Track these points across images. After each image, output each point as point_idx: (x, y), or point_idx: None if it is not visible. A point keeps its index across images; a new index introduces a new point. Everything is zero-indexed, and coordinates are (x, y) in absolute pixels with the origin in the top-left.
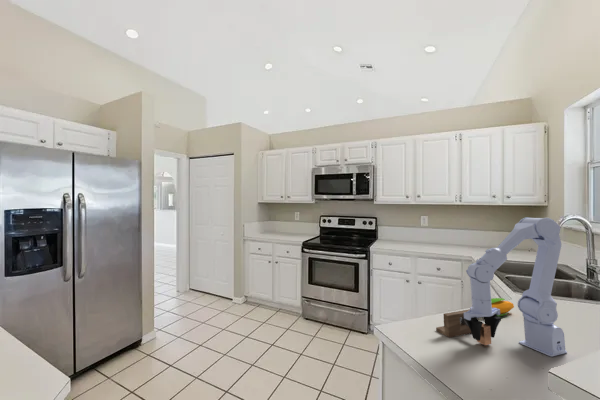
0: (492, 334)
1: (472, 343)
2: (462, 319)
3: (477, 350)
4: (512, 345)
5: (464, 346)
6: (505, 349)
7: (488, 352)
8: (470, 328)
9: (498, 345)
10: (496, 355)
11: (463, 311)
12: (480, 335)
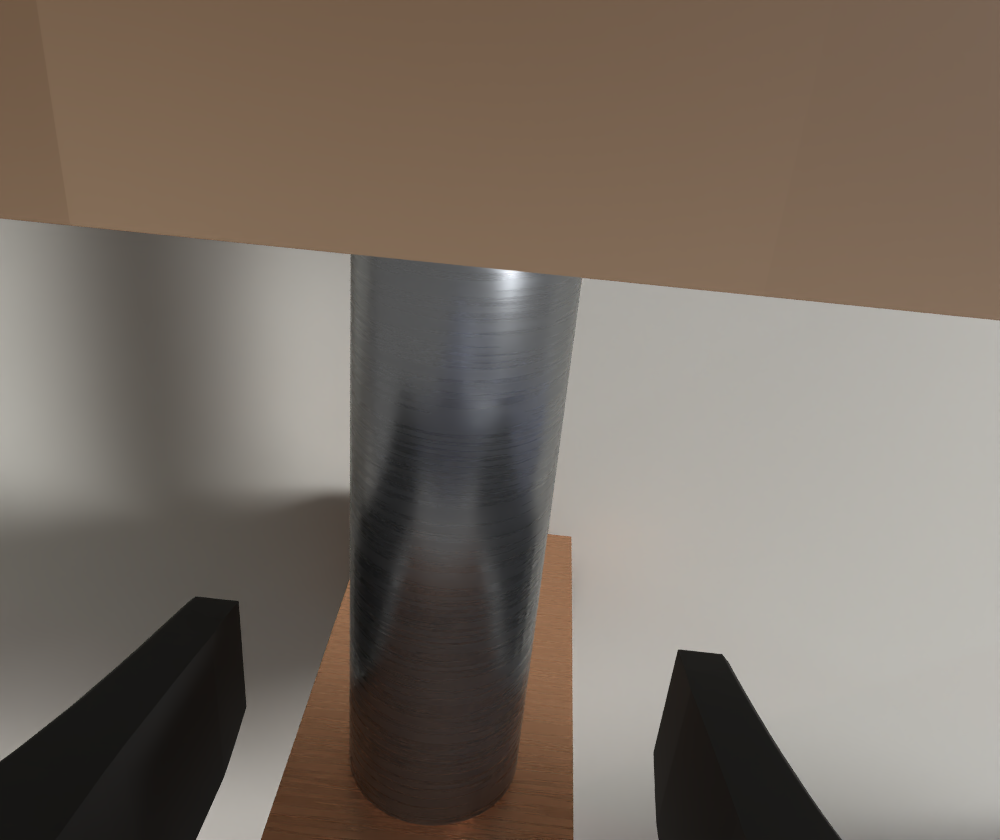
0: (658, 811)
1: (298, 444)
2: None
3: (155, 623)
4: (931, 768)
5: (25, 450)
6: (653, 778)
7: (282, 720)
8: (15, 776)
9: None
10: None
11: (928, 13)
12: (196, 835)
